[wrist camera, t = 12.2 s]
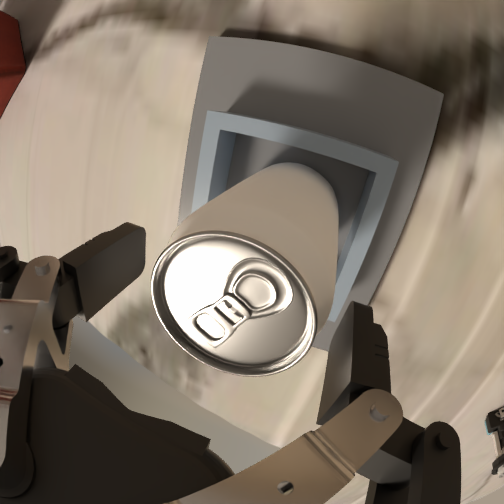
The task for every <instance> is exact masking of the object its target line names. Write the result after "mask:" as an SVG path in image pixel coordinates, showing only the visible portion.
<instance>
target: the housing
mask: <svg viewBox="0 0 504 504" xmlns="http://www.w3.org/2000/svg"><path fill="white" fill-rule="evenodd" d="M443 96H444V94H443V93H441V92H439V91H437V90H434V89H432V88H430V87H428V86H426V85H423V84H421V83H419V82H417V81H414V80H412V79H409V78H407V77H404V76H402V75H399V74H397V73H394V72H391V71H389V70H386V69H383V68H380V67H377V66H374V65H371V64H368V63H365V62H362V61H358V60H355V59H352V58H348V57H345V56H341V55H337V54H333V53H329V52H325V51H321V50H316V49H312V48H307V47H302V46H296V45H291V44H285V43H278V42H272V41H264V40H256V39H246V38H234V37H217V36H209V39H208V43H207V48H206V52H205V56H204V61H203V65H202V70H201V74H200V79H199V84H198V89H197V94H196V99H195V105H194V110H193V116H192V121H191V127H190V133H189V139H188V146H187V152H186V159H185V166H184V174H183V181H182V189H181V198H180V206H179V216H178V226H179V225H180V224H181V223H182V222H183V221H184V220H185V219H186V218H187V217H188V216H189V215H190V214H192V213H193V212H195V211H196V210H197V209H199V208H200V207H202V206H203V205H205V204H206V203H208V202H209V201H211V200H212V199H214V198H215V197H217V196H219V195H220V194H222V193H223V192H225V191H227V190H228V189H230V188H232V187H233V186H235V185H237V184H238V183H240V182H242V181H243V180H245V179H247V178H248V177H250V176H252V175H254V174H255V173H257V172H259V171H261V170H262V169H264V168H266V167H269V166H271V165H274V164H278V163H285V162H292V163H299V164H303V165H305V166H308V167H310V168H312V169H313V170H315V171H316V172H318V173H319V174H321V175H322V176H323V177H324V178H325V179H326V180H327V181H328V182H329V184H330V185H331V186H332V188H333V190H334V192H335V195H336V199H337V203H338V213H339V224H338V254H337V271H336V283H335V292H334V300H333V304H332V308H331V311H330V314H329V317H328V319H327V321H326V323H325V325H324V326H323V328H322V329H321V331H320V332H319V333H318V334H317V336H316V337H315V339H314V342H313V344H312V347H315V348H319V349H322V350H325V351H328V352H329V347H330V343H331V340H332V338H333V335H334V333H335V331H336V329H337V327H338V325H339V323H340V321H341V319H342V318H343V316H344V314H345V312H346V310H347V308H348V306H349V304H350V302H351V301H355V302H358V303H361V304H364V305H368V303H369V301H370V299H371V297H372V295H373V293H374V291H375V289H376V287H377V285H378V283H379V281H380V279H381V277H382V275H383V273H384V271H385V268H386V266H387V264H388V262H389V260H390V257H391V255H392V253H393V251H394V248H395V246H396V244H397V241H398V239H399V237H400V234H401V232H402V229H403V227H404V224H405V222H406V219H407V217H408V214H409V211H410V209H411V206H412V203H413V201H414V198H415V195H416V192H417V189H418V187H419V184H420V181H421V178H422V175H423V171H424V168H425V165H426V162H427V159H428V155H429V152H430V149H431V145H432V141H433V138H434V134H435V130H436V126H437V122H438V118H439V114H440V110H441V105H442V101H443ZM178 226H177V227H178Z"/></svg>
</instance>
